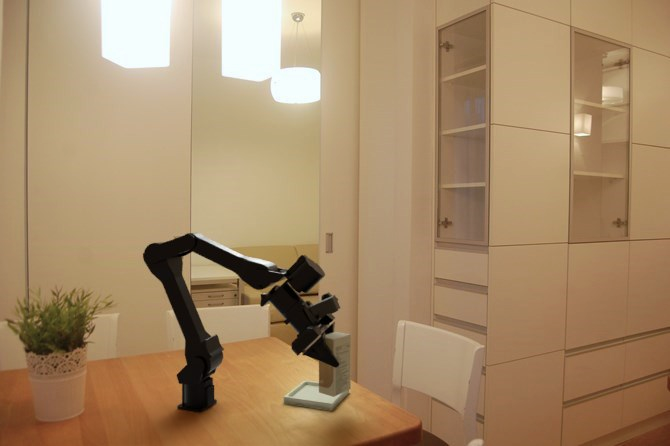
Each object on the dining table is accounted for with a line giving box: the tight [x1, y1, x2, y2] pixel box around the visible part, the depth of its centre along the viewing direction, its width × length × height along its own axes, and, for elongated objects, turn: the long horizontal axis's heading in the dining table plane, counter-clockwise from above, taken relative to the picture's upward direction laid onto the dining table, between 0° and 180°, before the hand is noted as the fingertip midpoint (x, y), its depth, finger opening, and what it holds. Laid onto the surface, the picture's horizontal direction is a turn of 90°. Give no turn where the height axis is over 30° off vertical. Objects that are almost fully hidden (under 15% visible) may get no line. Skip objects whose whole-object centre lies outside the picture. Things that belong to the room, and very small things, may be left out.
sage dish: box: [283, 379, 350, 412], centre depth 111 cm, size 12×12×2 cm
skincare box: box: [318, 331, 352, 397], centre depth 101 cm, size 6×4×12 cm
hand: (341, 360), depth 100 cm, fingers closed on skincare box, 7 cm apart
